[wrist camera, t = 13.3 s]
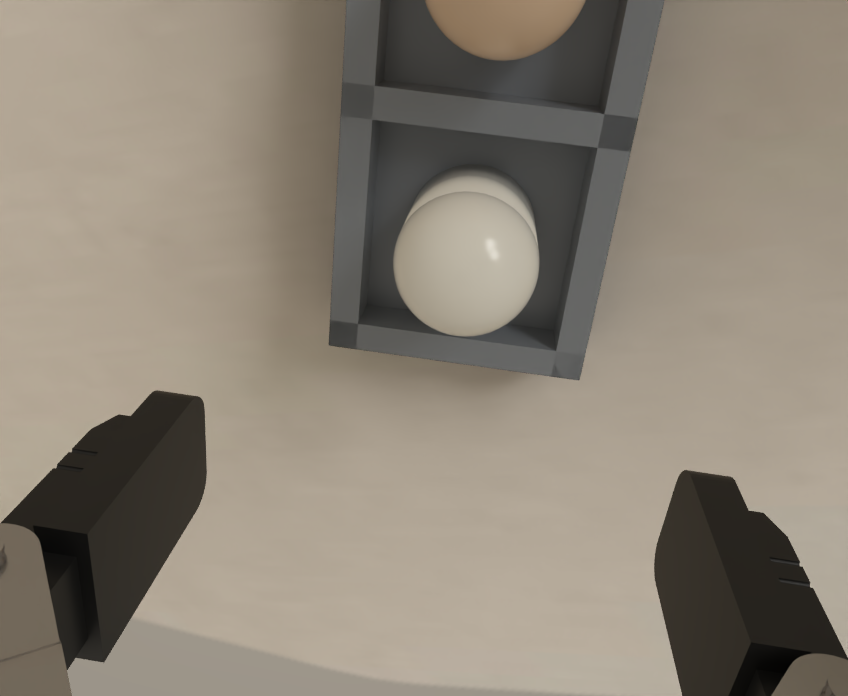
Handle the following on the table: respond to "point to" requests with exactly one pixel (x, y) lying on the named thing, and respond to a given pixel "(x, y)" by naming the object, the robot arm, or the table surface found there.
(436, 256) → the cream egg
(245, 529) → the table surface
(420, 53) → the egg tray
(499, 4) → the brown egg middle
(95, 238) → the table surface
